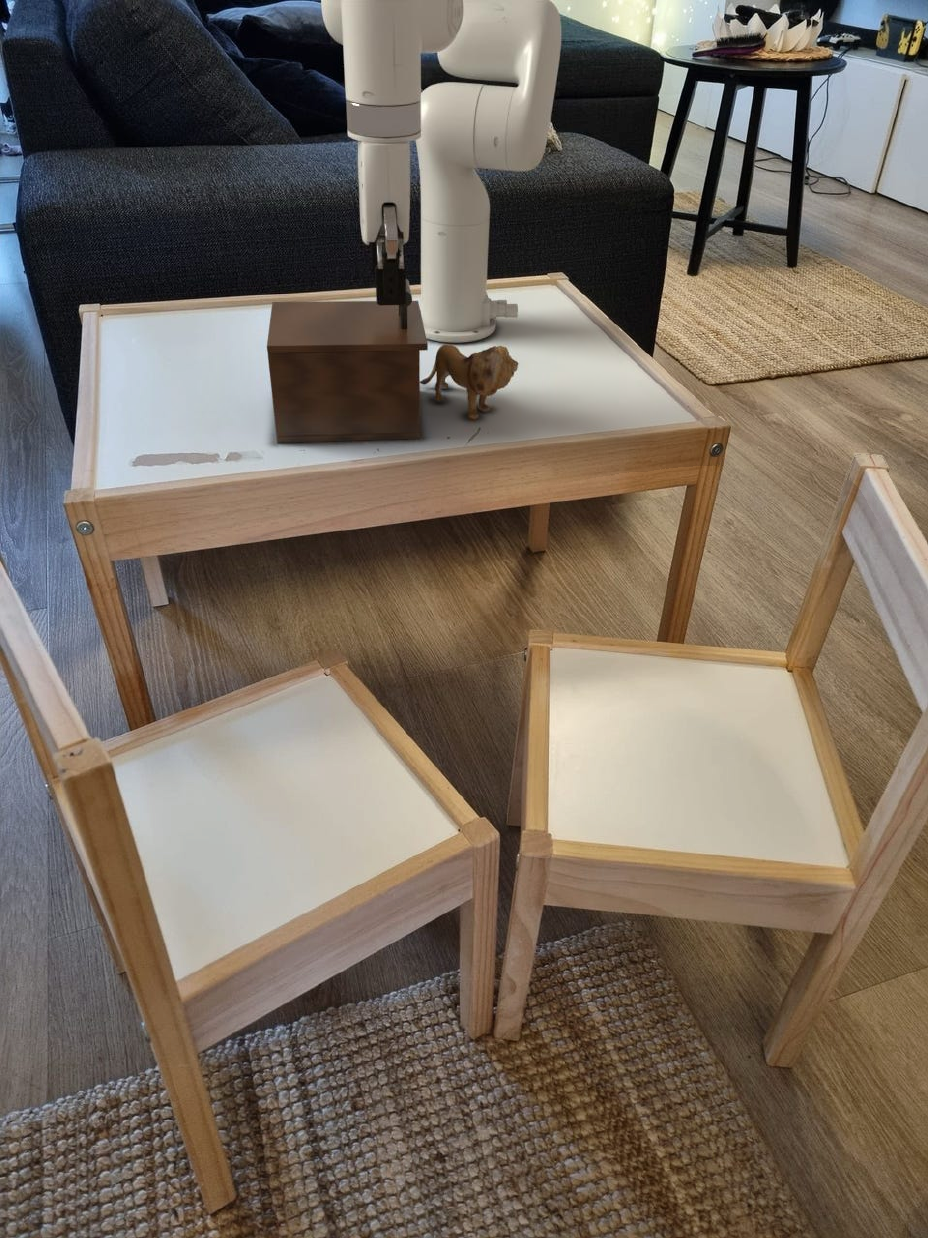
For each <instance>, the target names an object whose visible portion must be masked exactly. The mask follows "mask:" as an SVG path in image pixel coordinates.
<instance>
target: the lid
mask: <svg viewBox="0 0 928 1238" xmlns="http://www.w3.org/2000/svg"><path fill="white" fill-rule="evenodd" d="M420 310H421V306H420V303H419V300H413V295H412V291H411V285H410V281H409V279H407V278H406V303H405V304H404V305H378V304H377V301H376V300H352V301H351V300H345V301H344V300H343V301H342V300H341V301H340V300H339V301H335V300H334V301H333V300H332V301H329V300H327V301H272V302H271V310H270V317H269V324H268V325H269V326H268V333H267V343H266V351H267V354H268V353H293V352H359V351H420V352H422V351H423V352H424V351H428V350H429V343H428V339H427V338H426V334H425V329H424V325H423V320H422V316H421V312H420Z"/></svg>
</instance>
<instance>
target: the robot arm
mask: <svg viewBox="0 0 928 1238" xmlns="http://www.w3.org/2000/svg"><path fill="white" fill-rule="evenodd" d="M320 2H321V5H320V6H321V7H320V8H321V15H322V20H323V24H324V27H325V29H326V31H327V32H328V34H329V36H330V37H331V38H332V39H333V40H334V41H335V42H337V43H338V44H340V45H342V46H343V64H344V65H343V67H344V68H343V69H344V87H345V105H346V106H345V107H346V109H345V110H346V128H347V137H348V138H350V139H352V140H355V141H357V179H358V180H357V181H358V201H359V225H360V232H361V239H362V242H363V243H364V244H365V246H369V245H370V255H371V256H370V257H371V272H372V274H373V275H374V276H375V298H376V299H375V301H377V304H378V305H404V304H405V303H406V279H407V268H406V265H405V260H404V258H405V257H404V245H405V244H406V243H408V241H409V238H410V237H409V234H410V213H411V212H410V211H411V143H410V142H414V141H415V145H416V152H417V159H418V167H419V168H418V169H419V183H420V185H419V186H420V312H421V316H422V320H423V325H424V329H425V334H426V338H427V340H431V341H435V342H441V343H458V344H459V343H470V342H476V341H480V340H483V339H485V338H488V337H489V336H492V335H493V333H494V332H495V330H496V324H497V321H496V320H497V318H505V319H507V318H508V319H509V318H510V319H511V318H518V316H519V306H518V303H508V301H507V299H496V300H494V299H493V300H492V298H490V297H489V295H488V292H487V291H488V290H487V289H488V288H487V286H488V267H489V244H490V243H489V242H490V241H489V240H490V223H491V221H490V218H491V203H490V197H489V194H488V191H487V189H486V186H485V185H484V183H483V181H482V179H481V177H480V175H478V173H477V171H476V169H477V170H478V169H480V170H481V169H485V170H497V171H508V172H529V171H533V170H534V169H536V168H537V167H539V165H540V164H541V162H542V160H543V157H544V154H545V151H546V147H547V143H548V138H549V131H550V126H551V118H552V111H553V104H554V99H555V93H556V87H557V77H558V72H559V71H558V70H559V66H560V57H561V48H562V21H561V16H560V12H559V10H558V8H557V6H556V5H555V4H554V3H553V1H551V0H320ZM436 53H437V54H436ZM422 54H436V56H437V59H438V62H439V63H438V64H439V66H440V68H442V69H443V71H444V72H446V73H447V74H448V75H451V76H454V77H457V78H462V79H468V80H476V81H489V82H501V83H502V82H503V83H515V84H516V85H517V87H513V86H503V85H502V86H501V85H491V84H489V85H488V84H482V83H468V82H455V81H453V82H452V81H451V82H449V81H447V82H446V81H445V82H439V83H436V84H432V85H430V86H428V87H427V88H425V89H424V90H423V91H422V56H421V55H422Z"/></svg>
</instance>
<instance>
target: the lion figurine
mask: <svg viewBox="0 0 928 1238" xmlns="http://www.w3.org/2000/svg"><path fill="white" fill-rule="evenodd" d="M434 359H435V360H434V364H433V366H432V370H431V373H430V374H429V376H428V377H426V378H423V379H422V380H420V385H428V384H429V383H430V382H431V381H432V380H433V378H434V377H435V375H436V380H435V381H436V382H435V386H434V391H435V394H434V395H435V396H434V400H435V401H436V402H437V403H443V402H444V401H445V396H444V395H443V394H442V390H446V389H449V384H448V382H446V379H447V378H448V377H449V376H450V378H451V379H452V381H453V382H454V383H455V384H456V385H457V386H459V387H461V388H464V389H466V395H467V396H466V397H467V398H466V399H467V416H468V418H469V419H470V420H477V419H479V414H478V410H477V408H476V407H477V402H478V409H479V411H481V412H486V413H487V412H490V410H491V406H490V405H489V404H486V401H487V398H488V397H490V396H493V395H495V394H496V393H497V391H498V390H501V389H505V387H506V386H508V385H509V383H510V382H511V381H512V380H511V379H512V378H513V377H514V376H515V372H517V371H518V369H519V368H518V367H519V362H518V361H517V360H514V359H513V357H512V356H511V355H510V351H509V349H508V347H506V346H503V345H498V346H496V345H494V346H492V347H491V346H490V347H489V348H487V349H484V350H482V351H478V352H473V353H470V355H468V356H466V355H464V354H463V353H461V351H460V350H459V348H458V347H456V346H455V345H453V344H445V343H444V344H442V345H440V346H439V348H438V349H437V351H436V354H435V358H434ZM477 396H478V397H477ZM477 398H478V401H477Z"/></svg>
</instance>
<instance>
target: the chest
mask: <svg viewBox="0 0 928 1238" xmlns="http://www.w3.org/2000/svg"><path fill="white" fill-rule="evenodd" d="M420 352H421V351H359V352H293V353H267V361H268V370H269V371H268V372H269V380H270V388H271V401H272V408H273V416H274V417H273V418H274V427H275V436H276V443H277V444H280V443H281V444H288V443H320V442H321V443H323V442H326V443H327V442H355V441H356V442H357V441H359V442H361V441H390V440H391V441H393V440H395V441H396V440H420V438H421V428H420V427H421V425H420V424H421V417H420V415H421V410H420V409H421V407H420V404H421V400H420V397H421V396H420V395H421V394H420V393H421V389H420V388H421V387H420V385H421V383H420V381H421V379H420V378H421V372H420V371H421V370H420V369H421V367H420V364H421V363H420V361H421V357H420V354H421V353H420Z"/></svg>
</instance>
